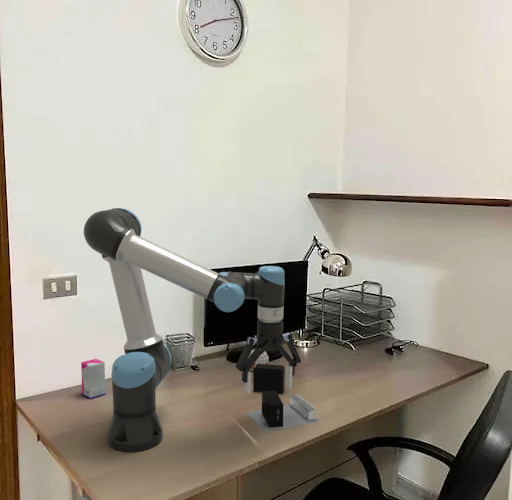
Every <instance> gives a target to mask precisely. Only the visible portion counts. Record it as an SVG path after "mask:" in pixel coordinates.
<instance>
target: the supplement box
mask: <svg viewBox="0 0 512 500" xmlns="http://www.w3.org/2000/svg"><path fill="white" fill-rule="evenodd" d="M80 364H81V368H80V369H81V396H83V397H86V398H88V399H89V400H93V399H95V398H99V397H102V396H105V395H106V370H105V369H106V368H105V367H106V366H105V362H104V361H102V360H100V359H97V358H93V359H89V360H85V361H82V362H81V363H80Z"/></svg>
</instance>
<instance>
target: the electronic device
mask: <svg viewBox="0 0 512 500" xmlns="http://www.w3.org/2000/svg"><path fill="white" fill-rule="evenodd" d="M252 372H253V373H252V375H253V376H252V381H253V382H252V385H253V386H252V392H253V393H262V391H276V392H277V394H278V395H283V394H284V392H285V380H286V367H285V366H284V365H282V364H281V365H280V364H269V363H268V364H256V365H255V366H254V369H253V371H252Z"/></svg>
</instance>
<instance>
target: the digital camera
mask: <svg viewBox="0 0 512 500" xmlns="http://www.w3.org/2000/svg"><path fill="white" fill-rule="evenodd" d="M283 406H284V403H283V401H282V399H281V398H280V395H279V394H277V392H276V391H262V392H261V410H262V415H263V417H264V418H265V420H266V422H267V425H268V427H269V428H270V427H283Z"/></svg>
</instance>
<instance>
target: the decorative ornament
mask: <svg viewBox="0 0 512 500" xmlns="http://www.w3.org/2000/svg"><path fill="white" fill-rule="evenodd" d="M256 344H258V343H257V342H256ZM254 350H255V349H252V351H251V353H250V355H251V354H252V353H253V351H254ZM250 355H249V357H250ZM249 357H248V358H249ZM269 358H270V356H269V355H268V353H267V352H266V351H264V352H263V354H261V355H260V356H259V358H258V359H257V360H256V362H255V363H254V364H253V366H252V367H251V368H250V370H249V371H251V372H253V369H254V366H255V365H256V364H269V363H270V362H269Z"/></svg>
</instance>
